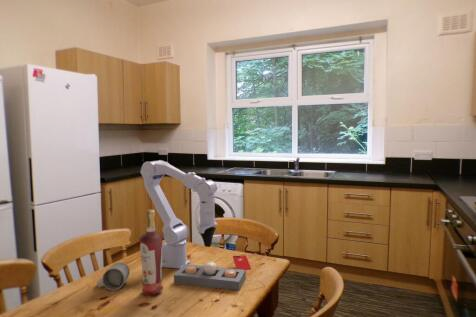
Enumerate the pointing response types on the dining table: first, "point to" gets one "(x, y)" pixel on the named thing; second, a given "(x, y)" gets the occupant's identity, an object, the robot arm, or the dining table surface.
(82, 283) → the dining table surface
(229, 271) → the light brown oval
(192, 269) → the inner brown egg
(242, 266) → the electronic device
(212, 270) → the white egg
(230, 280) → the grey egg tray
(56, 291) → the dining table surface
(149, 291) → the liquor
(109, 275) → the ceramic mug
